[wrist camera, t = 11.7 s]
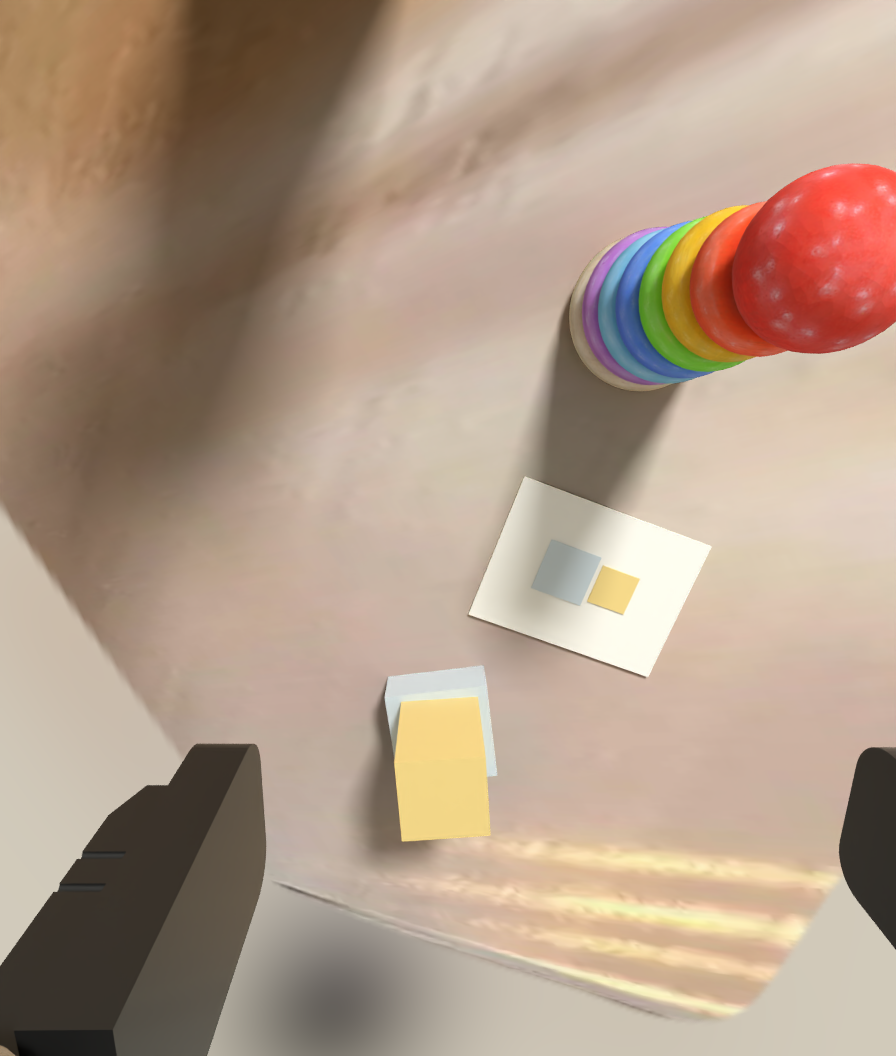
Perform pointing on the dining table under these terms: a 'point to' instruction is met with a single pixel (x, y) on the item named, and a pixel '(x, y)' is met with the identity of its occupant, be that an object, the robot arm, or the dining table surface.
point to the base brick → (442, 687)
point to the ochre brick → (441, 770)
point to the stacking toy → (743, 283)
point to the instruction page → (587, 577)
